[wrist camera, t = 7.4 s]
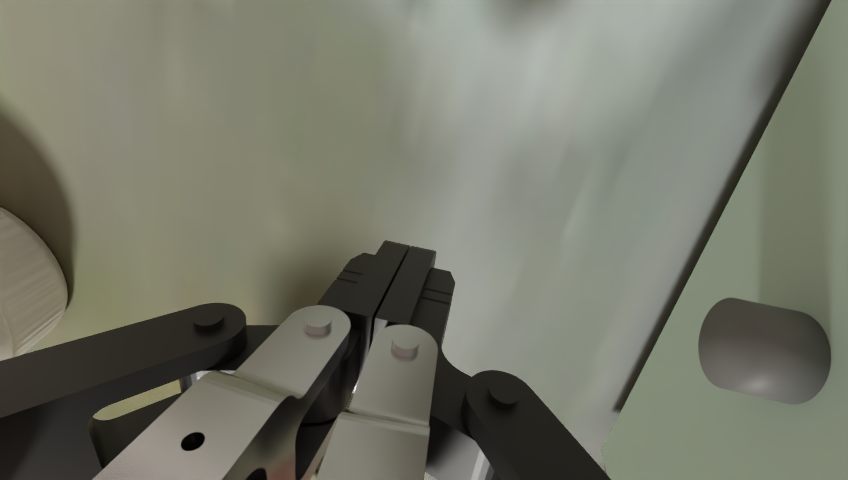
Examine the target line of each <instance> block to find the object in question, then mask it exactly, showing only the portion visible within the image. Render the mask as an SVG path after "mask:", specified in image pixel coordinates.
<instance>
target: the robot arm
mask: <svg viewBox="0 0 848 480" xmlns="http://www.w3.org/2000/svg"><path fill="white" fill-rule="evenodd" d="M435 258H436V251H433V250H428V249H424V248H419V247H414V246H411V247H410V246H409V245H405V244H400V243H395V242H391V241H386V240H385V241H384V242H383V244H382V245H381V247H380V249H379V250H378V252H377V253H376V255H372V254H367V253H362V254H361V255H359V256H357V257H355V258H353V259H351V260H350V261H349V262H348V264H347V265H346V266H345V268H344V269H343V272H341V273H340V274H339V276H338V277H337V280H335V281H334V282H333V284H332V285H331V286H330V288H329V289H328V290H327V292H326V293H325V294H324V296H323V297H322V298H321V300H320V301H319V302H318V304H317V305H314V306H308V307H304V308H301V309H299V310H297V311H295V312H293V313H292V314H291V315H290V316H289V317H288V318H287V319H286V320H285V321H284V322H283V323H282V324H281V325H246V316H245V314H244V312H243V311H242V310H241V309H240V308H238V307H236V306H234V305H230V304H225V303H209V304H203V305H199V306H196V307H192V308H188V309H185V310H181V311H178V312H174V313H170V314H167V315H163V316H160V317H156V318H153V319H149V320H145V321H142V322H138V323H135V324H131V325H127V326H124V327H120V328H117V329H113V330H109V331H106V332H102V333H99V334H95V335H92V336H88V337H84V338H81V339H77V340H74V341H70V342H66V343H63V344H59V345H56V346H52V347H49V348H45V349H41V350H38V351H34V352H31V353H27V354H23V355H20V356H16V357H13V358H9V359H6V360H2V361H0V480H310V479H311V477H312V476H313V474H314V472H315V470H316V468H317V467H318V465H319V463H320V461H321V459H322V457H323V456H324V454H325V456H324V458H323V461H322V464H321V467H320V469H319V472H318V475H317V477H316V480H424V474H425V472H427V473H428V474H430V475H431V476H433V477H434V478H436V479H437V480H611V479H610V478H609V477H608V475H607V474H606V473H605V472H604V471H603V470H602V469H601V467H600V466H599V465H598V464H597V463H596V462H595V461H594V460H593V458H592V457H591V456H590V455H589V454H588V453H587V452H586V450H585V449H584V448H583V447H582V446H581V445H580V444H579V443H578V441H577V440H576V439H575V438H574V437H573V436H572V435H571V433H570V432H569V431H568V430H567V429H566V428H565V427H564V425H563V424H562V423H561V422H560V421H559V420H558V419H557V418H556V416H555V415H554V414H553V413H552V412H551V411H550V410H549V408H548V407H547V406H546V405H545V404H544V403H543V402H542V401H541V399H540V398H539V397H538V396H537V395H536V394H535V393H534V391H533V390H532V389H531V388H530V387H529V386H528V385H527V384H526V383H525V382H523V381H522V380H521V379H519V378H517V377H516V376H513V375H511V374H509V373H506V372H502V371H495V370H489V371H483V372H480V373H477V374H476V375H474V376H473V377H471V376H469V375H467V374H465V373H463V372H461V371H460V370H458V369H456V368H455V367H454V366H453V365H452V364H451V363H450V362H449V361H448V360H447V359H446V358H445V356H444V354H443V352H442V349H441V347H442V343H443V338H444V334H445V330H446V325H447V321H448V316H449V311H450V306H451V301H452V296H453V291H454V286H455V281H454V279H453V277H452V275H451V272H450V271H445V270H440V269H436V268H434V264H435ZM178 379H179V382H180V388H181V393H179V394H176V395H174V396H171V397H168V398H166V399H163V400H161V401H158V402H156V403H153V404H151V405H148V406H145V407H143V408H140V409H138V410H135V411H133V412H130V413H128V414H125V415H122V416H120V417H117V418H115V419H111V420H97V419H95V418H93V417H92V416H93V415H94V414H95V413H97V412H98V411H99V410H101V409H102V408H104V407H106V406H108V405H111V404H113V403H116V402H119V401H121V400H124V399H127V398H129V397H132V396H135V395H138V394H140V393H143V392H146V391H148V390H151V389H154V388H156V387H159V386H162V385H164V384H167V383H170V382H172V381H175V380H178ZM352 393H354V396H353V398H352V401H351V404H350V407H349V409H348V410H346V409H345V407H346V405H347V403H348V401H349V398H350V396H351V394H352ZM325 452H326V453H325Z"/></svg>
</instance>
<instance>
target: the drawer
mask: <svg viewBox="0 0 848 480" xmlns="http://www.w3.org/2000/svg"><path fill="white" fill-rule="evenodd" d="M601 450H602V454H603V459H604V463H605V468H606V473H607V475H608V477H609V478H610V479H611V480H848V0H832V1H831V3H830V4H829V6H828V8H827V10H826V12H825V14H824V16H823V18H822V20H821V22H820V24H819V26H818V28H817V30H816V32H815V34H814V36H813V38H812V40H811V42H810V44H809V45H808V47H807V49H806V51H805V53H804V55H803V57H802V59H801V61H800V63H799V65H798V67H797V69H796V71H795V73H794V75H793V77H792V79H791V81H790V83H789V84H788V86H787V88H786V90H785V92H784V94H783V96H782V98H781V100H780V102H779V104H778V106H777V108H776V110H775V112H774V114H773V116H772V118H771V120H770V122H769V124H768V125H767V127H766V129H765V131H764V133H763V135H762V137H761V139H760V141H759V143H758V145H757V147H756V149H755V151H754V153H753V155H752V157H751V159H750V161H749V163H748V164H747V166H746V168H745V170H744V172H743V174H742V176H741V178H740V180H739V182H738V184H737V186H736V188H735V190H734V192H733V194H732V196H731V198H730V200H729V202H728V204H727V205H726V207H725V209H724V211H723V213H722V215H721V217H720V219H719V221H718V223H717V225H716V227H715V229H714V231H713V233H712V235H711V237H710V239H709V241H708V243H707V244H706V246H705V248H704V250H703V252H702V254H701V256H700V258H699V260H698V262H697V264H696V266H695V268H694V270H693V272H692V274H691V276H690V278H689V280H688V282H687V284H686V285H685V287H684V289H683V291H682V293H681V295H680V297H679V299H678V301H677V303H676V305H675V307H674V309H673V311H672V313H671V315H670V317H669V319H668V321H667V323H666V324H665V326H664V328H663V330H662V332H661V334H660V336H659V338H658V340H657V342H656V344H655V346H654V348H653V350H652V352H651V354H650V356H649V358H648V360H647V362H646V364H645V365H644V367H643V369H642V371H641V373H640V375H639V377H638V379H637V381H636V383H635V385H634V387H633V389H632V391H631V393H630V395H629V397H628V399H627V401H626V403H625V404H624V406H623V408H622V410H621V412H620V414H619V416H618V418H617V420H616V422H615V424H614V426H613V428H612V430H611V432H610V434H609V436H608V438H607V440H606V442H605V444H604V445H603V447H602V449H601Z"/></svg>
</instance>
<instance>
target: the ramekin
mask: <svg viewBox="0 0 848 480" xmlns="http://www.w3.org/2000/svg"><path fill="white" fill-rule="evenodd" d="M67 299H68V292H67V284H66V281H65V277H64V274H63V272H62V269H61V267H60V265H59V263H58V261H57V260H56V258H55V256H54V255H53V253H52V252H51V250H50V249H49V248H48V246H47V245H46V244H45V243H44V241H43V240H42V239H41V238H40V237H39V236H38V235H37V234H36V233H35V232H34V231H33V230H32V229H31V228H30V227H29V226H28V225H26V224H25V223H24V222H23V221H22V220H20V219H19V218H17V217H16V216H15V215H13V214H12V213H10V212H9V211H7V210H5V209H3V208H2V207H0V361H2V360H6V359H9V358H13V357H16V356H20V355H22V354H23V353H24V352H26V351H27V350H28V349H29V348H30V347H32V346H33V345H34V344H35V343H36V342H37V341H39V340H40V339H41V338H42V337H43V336H45V335H46V334H47V333H48V332H50V331H51V330H52V329H53V328H54V327H55V326H56V325H57V324H58V322H59V321H60V320H61V318H62V317H63V314H64V312H65V307H66V304H67Z"/></svg>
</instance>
